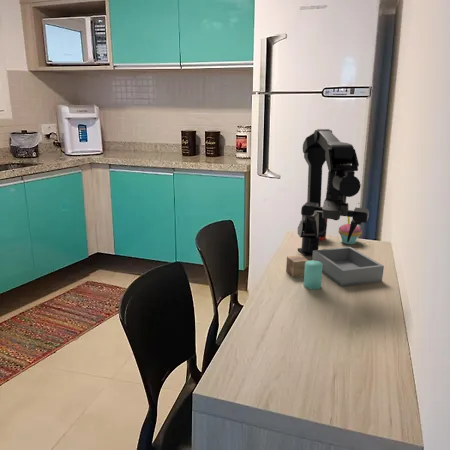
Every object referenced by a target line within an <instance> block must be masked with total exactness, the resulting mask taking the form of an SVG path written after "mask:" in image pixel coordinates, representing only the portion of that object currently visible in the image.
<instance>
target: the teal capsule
mask: <svg viewBox="0 0 450 450" xmlns="http://www.w3.org/2000/svg"><path fill="white" fill-rule="evenodd" d="M322 266H323V264H322V263H321V262H319V261H313V260H309V261H306V262H305V272H304V276H303V287H304V288H306V289H309V290H318V289H319V290H320V289H321V287H322V277H323V273H322Z"/></svg>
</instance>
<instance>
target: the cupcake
mask: <svg viewBox="0 0 450 450" xmlns="http://www.w3.org/2000/svg"><path fill="white" fill-rule="evenodd" d="M350 218H351V217H347V223H344V224H342V225H341V226H339V227H338V234H339V235H340V238H341V242H342V243H344V244H346V245H354V244H355V243H356V241H357V239H358V237H359V236H361V235H362V233H363V230H362V228H361V227H359V225H357V227H356V228H355V230H354V231H353V233H352V236H351V238H350V240H349V242H347V238H348V234H349V230H350V225H351V221H350Z"/></svg>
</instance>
